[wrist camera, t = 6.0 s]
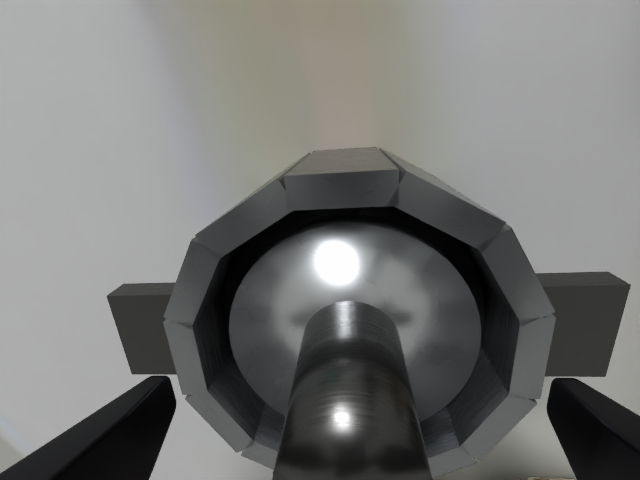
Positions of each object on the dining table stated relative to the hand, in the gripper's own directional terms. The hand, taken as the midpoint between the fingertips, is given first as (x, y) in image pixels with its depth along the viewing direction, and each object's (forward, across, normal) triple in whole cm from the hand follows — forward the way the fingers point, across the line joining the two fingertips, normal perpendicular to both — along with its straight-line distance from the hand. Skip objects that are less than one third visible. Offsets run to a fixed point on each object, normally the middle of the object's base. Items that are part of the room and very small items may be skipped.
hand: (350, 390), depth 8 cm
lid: (+3, 0, 0) cm, 3 cm away
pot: (+8, 0, 0) cm, 8 cm away
